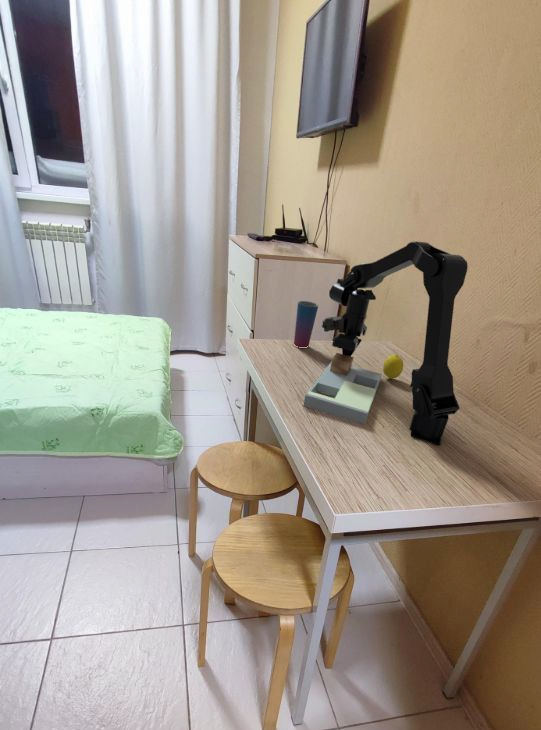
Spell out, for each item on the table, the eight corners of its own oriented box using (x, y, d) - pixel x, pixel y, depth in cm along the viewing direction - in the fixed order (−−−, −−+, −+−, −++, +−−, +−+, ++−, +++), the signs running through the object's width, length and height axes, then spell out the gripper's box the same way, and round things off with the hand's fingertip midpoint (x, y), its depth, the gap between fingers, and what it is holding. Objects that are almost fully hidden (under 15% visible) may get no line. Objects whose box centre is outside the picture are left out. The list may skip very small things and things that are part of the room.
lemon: (396, 376, 116) (403, 352, 113) (400, 384, 111) (408, 359, 108) (379, 373, 116) (385, 349, 113) (382, 381, 111) (388, 356, 108)
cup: (287, 342, 131) (294, 300, 125) (304, 342, 134) (311, 300, 128) (297, 350, 126) (304, 306, 120) (314, 349, 129) (322, 306, 123)
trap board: (379, 381, 111) (382, 372, 110) (364, 424, 88) (367, 413, 86) (330, 368, 115) (332, 359, 114) (303, 405, 92) (305, 394, 91)
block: (350, 369, 110) (353, 357, 108) (346, 375, 106) (350, 362, 104) (334, 365, 111) (336, 352, 110) (329, 370, 107) (332, 358, 106)
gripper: (336, 299, 116) (326, 346, 122) (319, 312, 100) (309, 365, 106) (372, 306, 112) (360, 354, 119) (360, 322, 96) (348, 376, 103)
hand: (344, 362), depth 112 cm, fingers closed
